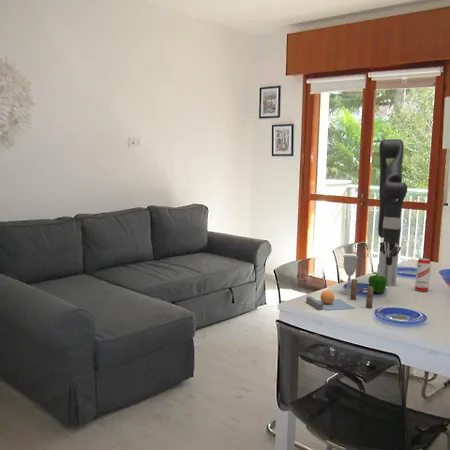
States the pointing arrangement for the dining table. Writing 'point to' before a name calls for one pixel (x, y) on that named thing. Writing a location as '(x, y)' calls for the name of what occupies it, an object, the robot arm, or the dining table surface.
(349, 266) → the chalice
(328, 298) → the ball
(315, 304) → the wall
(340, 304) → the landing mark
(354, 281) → the post
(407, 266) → the dining table surface
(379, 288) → the bell pepper
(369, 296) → the post
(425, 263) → the beer can
